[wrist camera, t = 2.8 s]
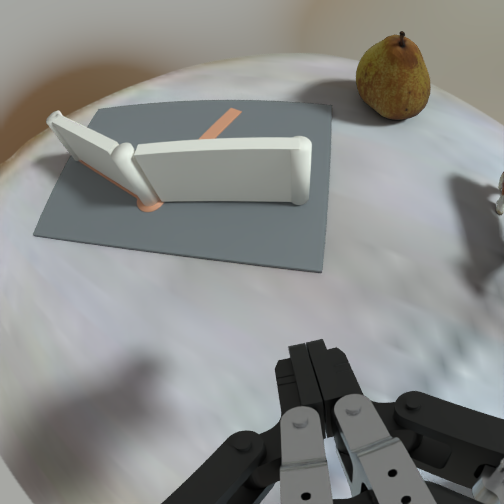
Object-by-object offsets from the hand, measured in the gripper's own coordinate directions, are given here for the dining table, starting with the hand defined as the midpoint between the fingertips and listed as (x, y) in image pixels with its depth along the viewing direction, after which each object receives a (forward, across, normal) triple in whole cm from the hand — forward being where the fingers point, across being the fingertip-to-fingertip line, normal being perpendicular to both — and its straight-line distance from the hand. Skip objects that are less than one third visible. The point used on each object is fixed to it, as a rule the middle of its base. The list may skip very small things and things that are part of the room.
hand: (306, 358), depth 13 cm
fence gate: (+19, +3, -4) cm, 20 cm away
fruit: (+27, -18, -11) cm, 34 cm away
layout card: (+24, +8, -8) cm, 26 cm away
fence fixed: (+24, +16, -9) cm, 30 cm away
